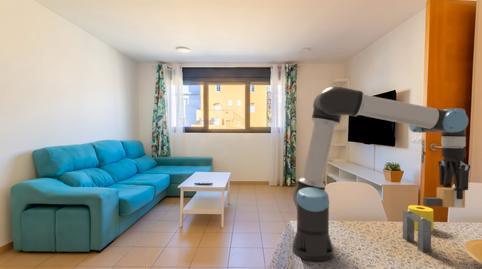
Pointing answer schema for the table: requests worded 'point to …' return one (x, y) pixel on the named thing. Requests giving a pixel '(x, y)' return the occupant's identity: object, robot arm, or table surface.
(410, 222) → the gray arch block
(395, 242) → the table surface
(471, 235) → the table surface
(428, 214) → the tape roll
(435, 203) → the plug
